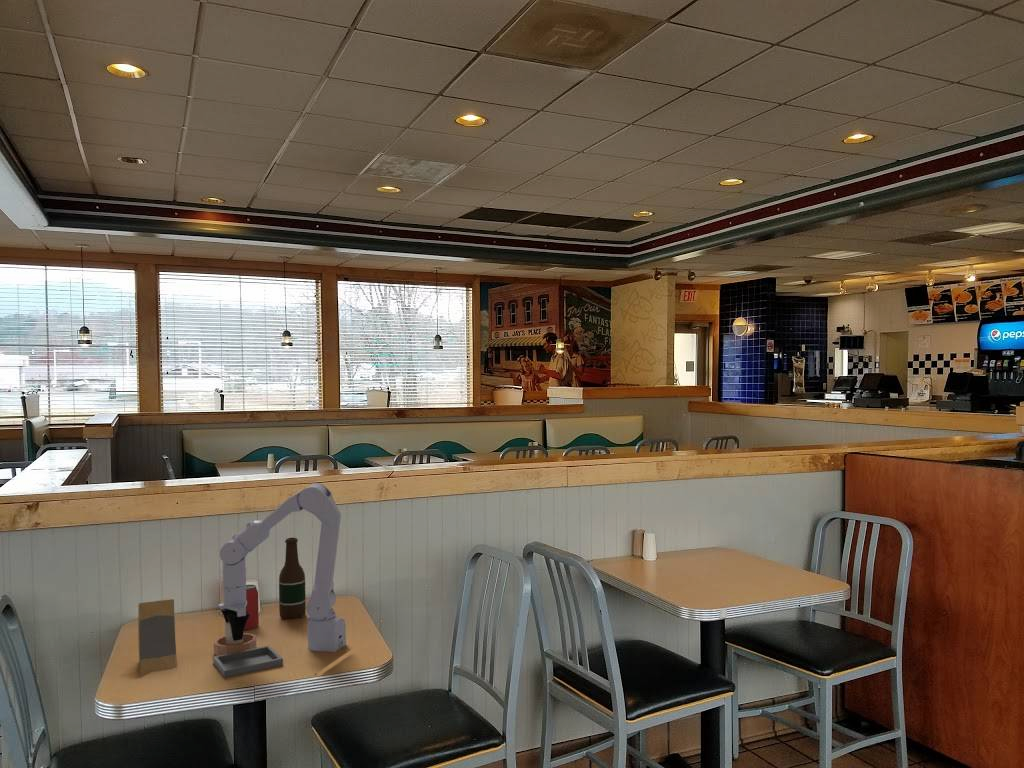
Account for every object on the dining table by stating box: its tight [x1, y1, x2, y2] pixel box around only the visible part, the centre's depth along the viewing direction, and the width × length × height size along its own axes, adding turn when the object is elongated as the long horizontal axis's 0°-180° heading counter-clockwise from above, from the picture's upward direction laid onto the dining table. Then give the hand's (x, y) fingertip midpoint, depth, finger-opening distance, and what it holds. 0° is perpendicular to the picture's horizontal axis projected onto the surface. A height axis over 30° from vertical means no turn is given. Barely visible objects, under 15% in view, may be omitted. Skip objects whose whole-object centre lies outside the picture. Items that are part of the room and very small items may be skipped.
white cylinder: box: [224, 622, 243, 645], centre depth 197 cm, size 4×4×5 cm
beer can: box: [244, 584, 260, 632], centre depth 220 cm, size 7×7×12 cm
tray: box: [212, 645, 284, 679], centre depth 187 cm, size 14×12×3 cm
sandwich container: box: [137, 598, 178, 678], centre depth 189 cm, size 9×15×15 cm, turn 27°
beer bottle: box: [278, 537, 307, 620], centre depth 230 cm, size 8×8×24 cm
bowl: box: [213, 632, 258, 656], centre depth 197 cm, size 10×10×4 cm
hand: (235, 637), depth 197 cm, fingers closed on white cylinder, 4 cm apart
